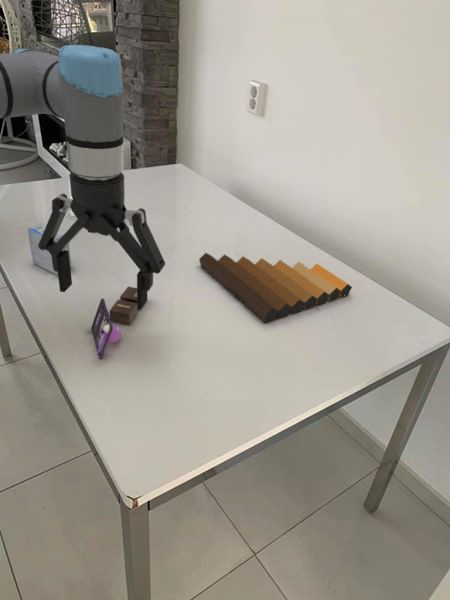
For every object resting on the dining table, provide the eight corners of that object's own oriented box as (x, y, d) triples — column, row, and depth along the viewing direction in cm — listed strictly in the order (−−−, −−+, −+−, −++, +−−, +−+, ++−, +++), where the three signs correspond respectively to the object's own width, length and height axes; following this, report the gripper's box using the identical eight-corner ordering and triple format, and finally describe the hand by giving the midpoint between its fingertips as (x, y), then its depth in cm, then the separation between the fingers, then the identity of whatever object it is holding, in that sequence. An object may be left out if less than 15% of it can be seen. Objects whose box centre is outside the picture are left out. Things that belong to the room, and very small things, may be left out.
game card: (97, 297, 80) (106, 327, 73) (125, 301, 83) (136, 330, 76) (86, 327, 83) (94, 359, 76) (114, 330, 85) (124, 361, 79)
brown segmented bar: (109, 321, 86) (109, 309, 84) (128, 296, 93) (128, 285, 92) (129, 325, 85) (129, 314, 84) (146, 300, 92) (146, 289, 91)
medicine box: (72, 268, 100) (69, 233, 95) (56, 276, 97) (51, 239, 92) (49, 256, 103) (44, 221, 98) (32, 263, 100) (26, 227, 95)
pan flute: (198, 266, 106) (262, 324, 89) (199, 254, 104) (265, 310, 87) (280, 247, 118) (349, 294, 102) (282, 235, 117) (353, 282, 100)
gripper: (189, 178, 65) (181, 299, 77) (30, 150, 68) (47, 270, 80) (173, 196, 59) (167, 324, 71) (0, 164, 62) (22, 292, 74)
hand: (103, 296), depth 76 cm, fingers open, 13 cm apart
